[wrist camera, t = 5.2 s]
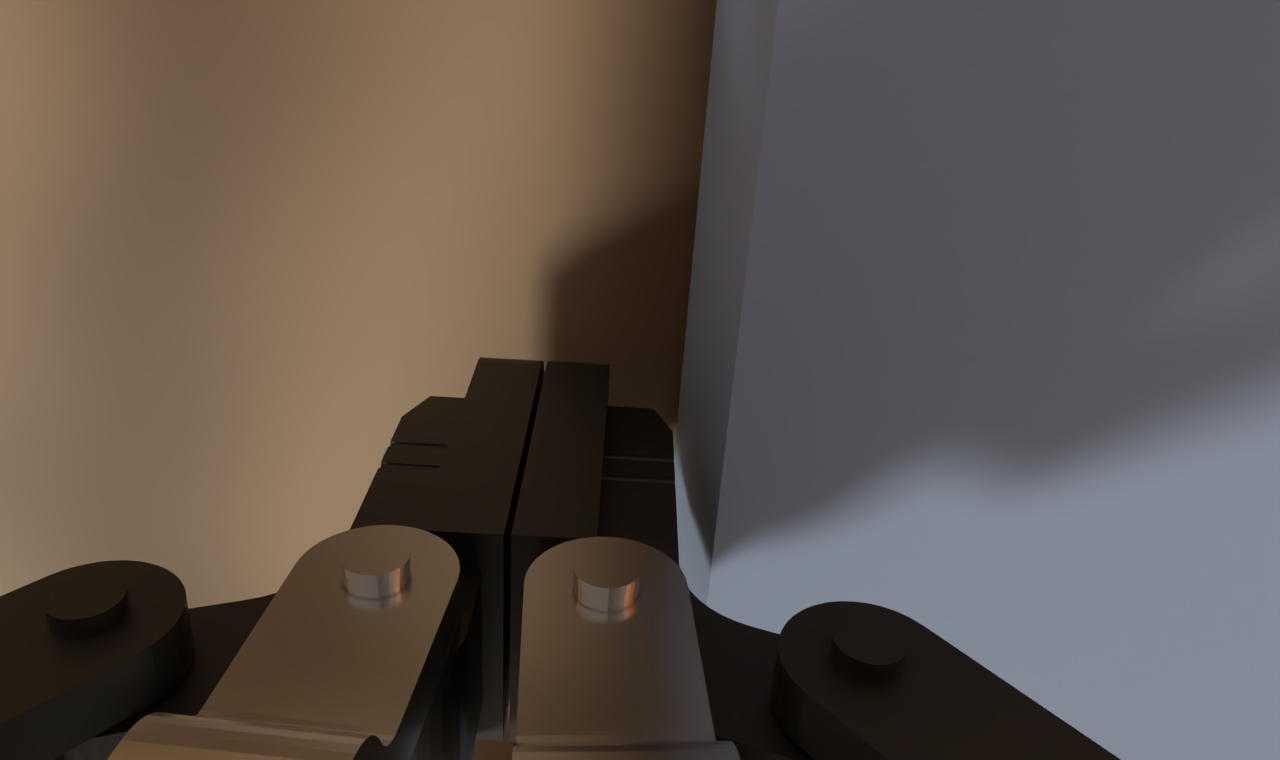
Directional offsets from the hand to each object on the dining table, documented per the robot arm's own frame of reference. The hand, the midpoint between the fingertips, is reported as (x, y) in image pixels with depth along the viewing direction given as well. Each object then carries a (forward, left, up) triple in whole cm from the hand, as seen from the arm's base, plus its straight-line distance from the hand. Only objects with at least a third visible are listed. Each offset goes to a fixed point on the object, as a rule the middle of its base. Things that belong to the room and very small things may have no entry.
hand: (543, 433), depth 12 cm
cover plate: (-6, 0, -1) cm, 6 cm away
